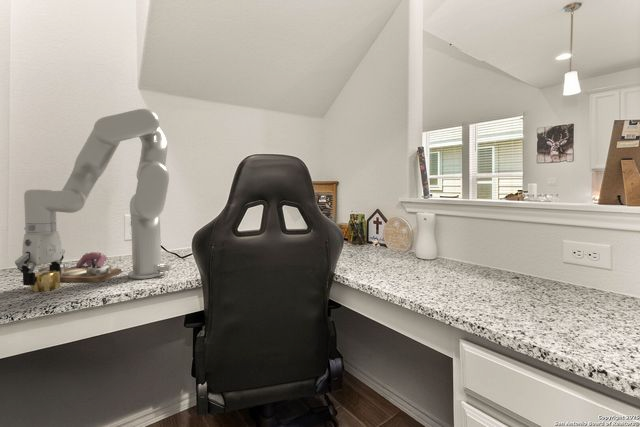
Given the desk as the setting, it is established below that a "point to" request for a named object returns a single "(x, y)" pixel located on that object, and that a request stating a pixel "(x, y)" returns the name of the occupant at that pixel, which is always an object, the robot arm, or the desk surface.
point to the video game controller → (88, 259)
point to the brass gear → (46, 281)
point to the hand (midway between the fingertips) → (42, 280)
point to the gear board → (85, 273)
